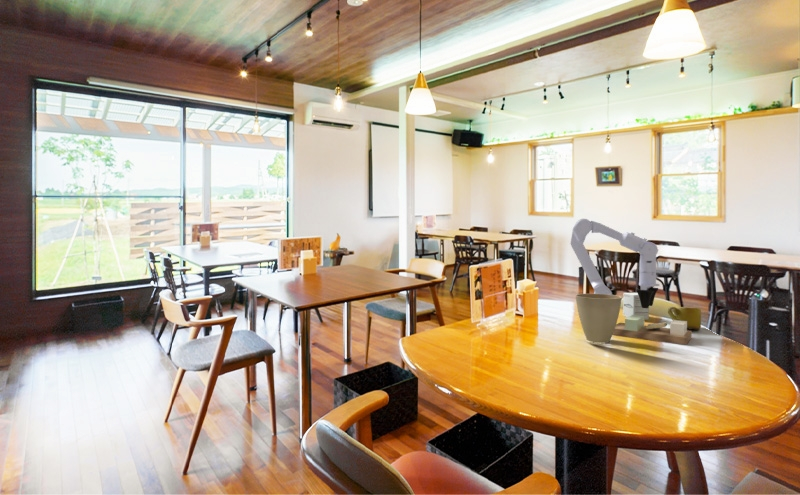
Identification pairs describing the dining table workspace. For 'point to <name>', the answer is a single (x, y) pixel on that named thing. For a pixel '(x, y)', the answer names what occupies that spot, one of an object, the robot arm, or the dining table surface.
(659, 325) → the tan flat block
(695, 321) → the mug
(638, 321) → the light green rectangular bar
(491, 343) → the dining table surface
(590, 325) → the plant pot
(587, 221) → the robot arm
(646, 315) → the supplement box
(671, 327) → the button white
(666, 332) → the panel
